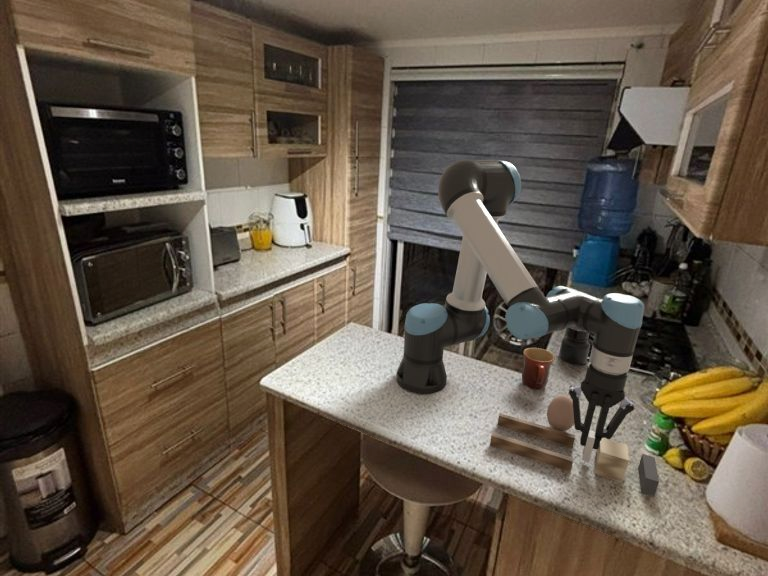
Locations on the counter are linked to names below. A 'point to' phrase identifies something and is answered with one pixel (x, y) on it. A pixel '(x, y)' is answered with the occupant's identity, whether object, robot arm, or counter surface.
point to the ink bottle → (575, 346)
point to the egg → (561, 413)
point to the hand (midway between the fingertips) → (585, 457)
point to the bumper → (648, 475)
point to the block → (611, 459)
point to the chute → (530, 450)
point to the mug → (536, 367)
